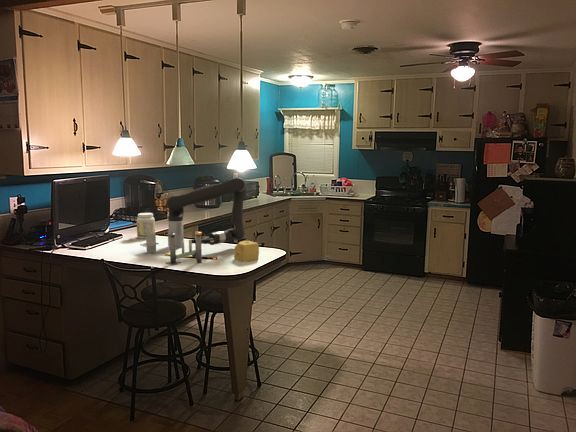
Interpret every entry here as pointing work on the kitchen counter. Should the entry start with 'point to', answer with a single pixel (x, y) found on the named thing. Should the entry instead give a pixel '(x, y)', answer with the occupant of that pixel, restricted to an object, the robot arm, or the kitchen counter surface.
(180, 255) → the gate
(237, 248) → the cheese
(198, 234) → the latch post
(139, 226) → the supplement tub
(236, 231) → the robot arm
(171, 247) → the hinge post
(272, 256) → the kitchen counter surface
